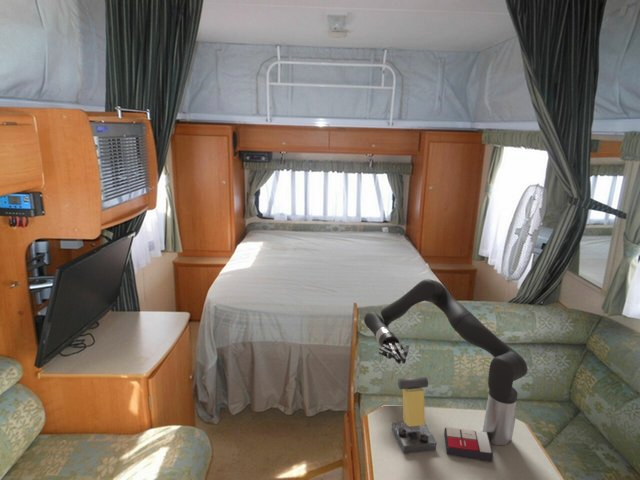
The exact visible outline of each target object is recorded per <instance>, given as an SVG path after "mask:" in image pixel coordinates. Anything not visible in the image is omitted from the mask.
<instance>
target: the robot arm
mask: <svg viewBox="0 0 640 480" xmlns="http://www.w3.org/2000/svg"><path fill="white" fill-rule="evenodd" d="M422 302H429V303H431V304H433V305H435V306H436V307H437V308H438V309H439V310H441V311H442V312H443V314H444V315H445V316H446V319H447V320H448V322H449V324H450V326H451V328H452V329H453V330H454V331H455V332H456V333H457V334H458V335H459V336H460V337H461V338H462V339H463V340H464V341H465V342H468V343H469V344H471V345H473V346H475V347H477V348H479V349H482V350H484V351H486V353H487V352H488V353H489V354H490V355H491V356H492V357H493V358H492V360H491V361H490V364H489V370H488V377H487V378H488V381H487V387H488V389H489V390H488V395H487V402H486V407H485V408H486V409H485V414H484V419H483V425H482V431H481V432H487V433H488V436H489V440H490V444H493V445H495V446H506V445H508V444H509V442H512V441H513V434H514V429H515V425H516V417H515V411H516V406H517V400H518V391H517V390H516V388H514V387H513V384H514V381H517V380H519V379H522V378H523V377H525V376H526V375H527V373H528V365H527V363H526V361H525V359H524V358H523V356H521V355H520V354H519V353H518V352H517V351H516V350H514V349H513V348H512V347H510V346H509V345H507V343H505V342H504V341H502V340H501V339H500V338H499V337H498V336H497V335H495V333H493V332H492V330H490V329H489V328H488V327H487V326H485V325H484V323H482V322H481V321H480V320H479V318H477V317H476V316H475V314H473V313H471V311H469V310H468V309H467V308H466V307H465V306H463V305H462V304H461V303H460V302H458V301H457V300H456V298H454V297H453V295H452V294H451V293H450V292H449V291H448V289H447V288H446V287H445V286H444V285H443V283H441V282H439V281H437V280H433V279H430V278H426V279H422V280H421V281H419V282H418V283H417V284H416V285H415V286H413V287H412V288H411V289H410V290H409V291H407V292H406V293H404V295H403V296H401V297H399V298H398V299H397V300H395V301H393V302H391V303H390V304H388V305H386V306H385V307H383V308H382V309H381V311H380V314H378V313H376V312H375V311H369V312H367V313H366V314H365V315H364V317H363V321H364V324H365V326H366V327H367V328H368V329H369V330H370V331H371V332H372V333H373V335H374V337H375V338H376V340H377V341H376V342H378V345H379V347H378V354H379V355H381V356H383V357H385V358H387V359H390V360H391V359H393V360H394V361H395V362H396V363H397V364H398V365H400V364H401V363H402V364H405V363H406V360H407V356H408V354H409V352H410V346H409V345H403V344H402V343H400V341H399V339H398V338H397V336H396V334H395V333H394V332H393V331H392V330H391V329H390V328H389V326H390V325H391V324H392V323H393V322H394V321H396V320H398V319H400V318H401V317H403V316H404V315H406V314H407V312H408V311H409V310H410V309H411V308H412V307H413V306H415V305H417V304H419V303H422ZM380 315H381V316H380Z"/></svg>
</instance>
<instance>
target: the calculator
mask: <svg viewBox="0 0 640 480" xmlns="http://www.w3.org/2000/svg"><path fill="white" fill-rule="evenodd" d="M443 436H444V445H445V453H446V455H447V456H452V457H458V458H464V459H465V458H466V459H469V460H470V459H472V460H477V461H481V462H486V463H493V457H494V452H493V449H492V443H490V440H489V436H488V433H487V432H482V431H477V430H473V429H464V428H457V427H448V426H446V427H444V435H443Z"/></svg>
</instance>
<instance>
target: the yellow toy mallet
mask: <svg viewBox="0 0 640 480" xmlns="http://www.w3.org/2000/svg"><path fill="white" fill-rule="evenodd" d="M397 386H398V388H399V390H402V412H403V422H405V423H406V424H407V425H408V426H409V428H410V429H411V430H412V431H416V430H420V425H425V424H426V419H425V417H426V416H425V413H426V412H425V411H426V410H425V391H424V389H422V388H428V386H429V380H428V378H427V376H418V377H417V376H416V377H406V378H405V377H404V378H398V380H397Z"/></svg>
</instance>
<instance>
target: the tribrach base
mask: <svg viewBox="0 0 640 480" xmlns="http://www.w3.org/2000/svg"><path fill="white" fill-rule="evenodd" d="M391 431H392V433H393V436H394V437H395V439H396V441H397V443H398V446H399V447H400V449H401V451H402V453H403V454H410V453H419V452H420V453H421V452H428V451H435V450H437V445H438V444H437V443H438V442H437V441H436V439H435V438H434V435H433V434H432V432H431V431H430V429H429V428H428V426H427V425H426V423H425V425H420V430H416V431H412V430H411V429H410V428H409V426H408V425H407V424H406V423H405V422H404V421H397V422H396V421H395V422H392V424H391Z"/></svg>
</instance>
